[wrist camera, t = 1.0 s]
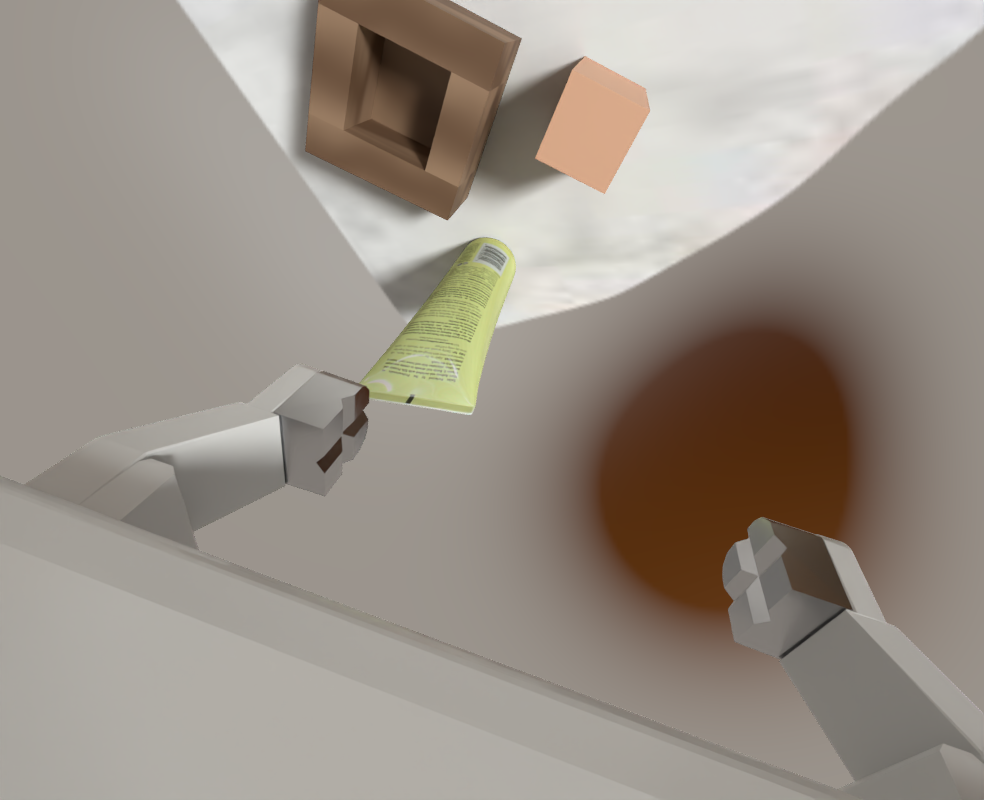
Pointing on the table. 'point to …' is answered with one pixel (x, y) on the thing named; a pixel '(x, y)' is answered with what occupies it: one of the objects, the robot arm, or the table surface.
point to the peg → (594, 124)
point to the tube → (448, 335)
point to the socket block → (407, 94)
